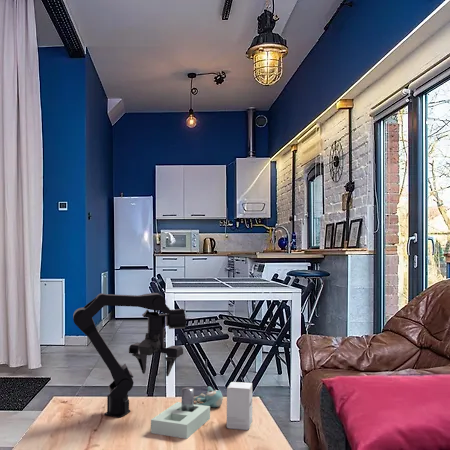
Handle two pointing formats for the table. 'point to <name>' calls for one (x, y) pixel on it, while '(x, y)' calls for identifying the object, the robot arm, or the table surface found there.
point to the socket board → (180, 421)
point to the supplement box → (239, 405)
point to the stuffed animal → (210, 398)
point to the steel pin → (187, 399)
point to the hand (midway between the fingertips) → (155, 374)
